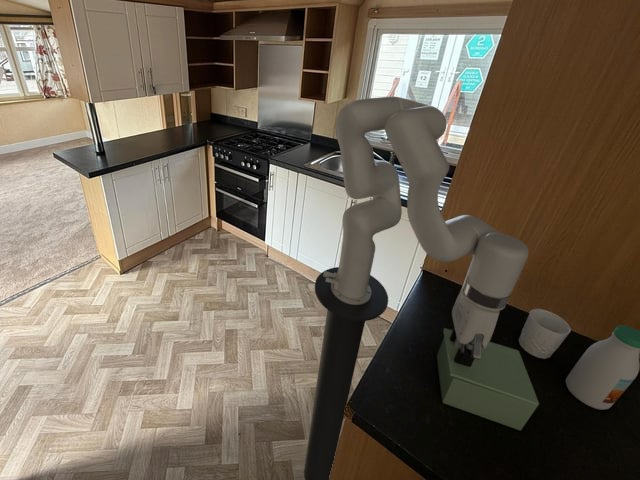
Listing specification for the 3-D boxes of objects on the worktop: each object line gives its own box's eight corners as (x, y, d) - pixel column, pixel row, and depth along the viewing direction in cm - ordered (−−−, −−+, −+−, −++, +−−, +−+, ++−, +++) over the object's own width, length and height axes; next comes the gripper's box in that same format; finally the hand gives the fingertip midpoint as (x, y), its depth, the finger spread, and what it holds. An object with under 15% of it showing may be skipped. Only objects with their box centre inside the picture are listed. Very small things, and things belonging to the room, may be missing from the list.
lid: (449, 375, 66) (457, 359, 64) (443, 329, 77) (449, 314, 74) (537, 406, 61) (549, 390, 59) (517, 352, 72) (527, 337, 69)
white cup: (561, 361, 79) (580, 334, 75) (531, 361, 79) (547, 334, 75) (536, 334, 86) (552, 308, 82) (508, 334, 86) (522, 308, 82)
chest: (442, 402, 70) (453, 378, 66) (436, 355, 81) (446, 332, 77) (520, 430, 65) (537, 406, 61) (503, 376, 76) (517, 352, 72)
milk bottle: (581, 408, 69) (629, 348, 60) (556, 375, 76) (596, 316, 67) (620, 413, 68) (675, 353, 59) (591, 379, 75) (636, 320, 66)
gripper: (456, 261, 71) (436, 319, 79) (472, 317, 57) (445, 380, 65) (495, 269, 68) (471, 328, 76) (522, 329, 54) (488, 394, 62)
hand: (459, 351), depth 70 cm, fingers closed on lid, 5 cm apart
